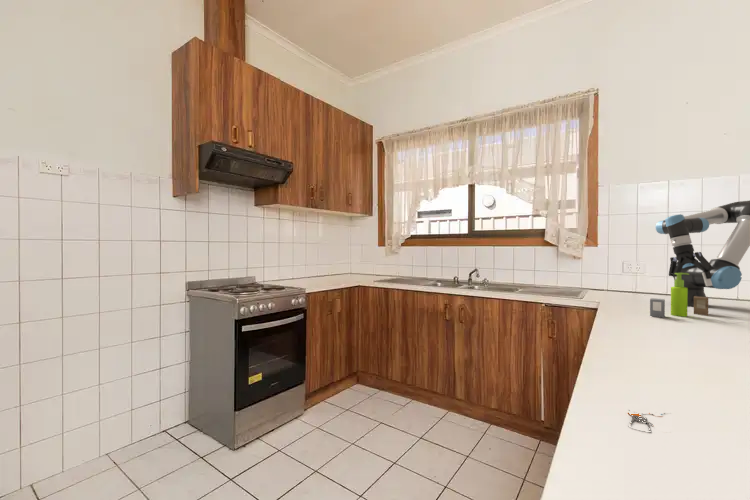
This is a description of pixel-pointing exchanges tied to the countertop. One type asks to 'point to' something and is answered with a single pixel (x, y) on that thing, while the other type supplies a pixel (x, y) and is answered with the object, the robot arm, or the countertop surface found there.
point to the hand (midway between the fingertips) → (694, 287)
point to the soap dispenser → (679, 297)
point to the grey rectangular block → (657, 307)
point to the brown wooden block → (701, 305)
